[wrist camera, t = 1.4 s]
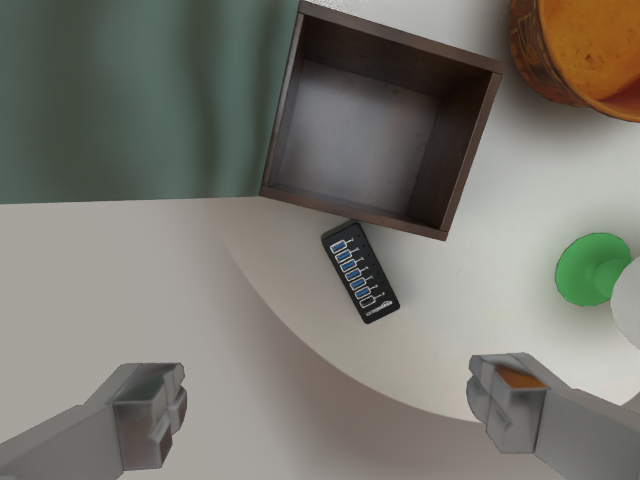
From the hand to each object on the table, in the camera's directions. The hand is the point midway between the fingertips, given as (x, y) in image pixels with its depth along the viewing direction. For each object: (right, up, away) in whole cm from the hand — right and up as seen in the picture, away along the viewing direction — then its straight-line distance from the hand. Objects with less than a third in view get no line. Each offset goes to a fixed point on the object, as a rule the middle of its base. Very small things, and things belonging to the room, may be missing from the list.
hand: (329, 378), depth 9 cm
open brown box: (+4, +14, +24) cm, 28 cm away
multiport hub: (+4, +1, +27) cm, 28 cm away
